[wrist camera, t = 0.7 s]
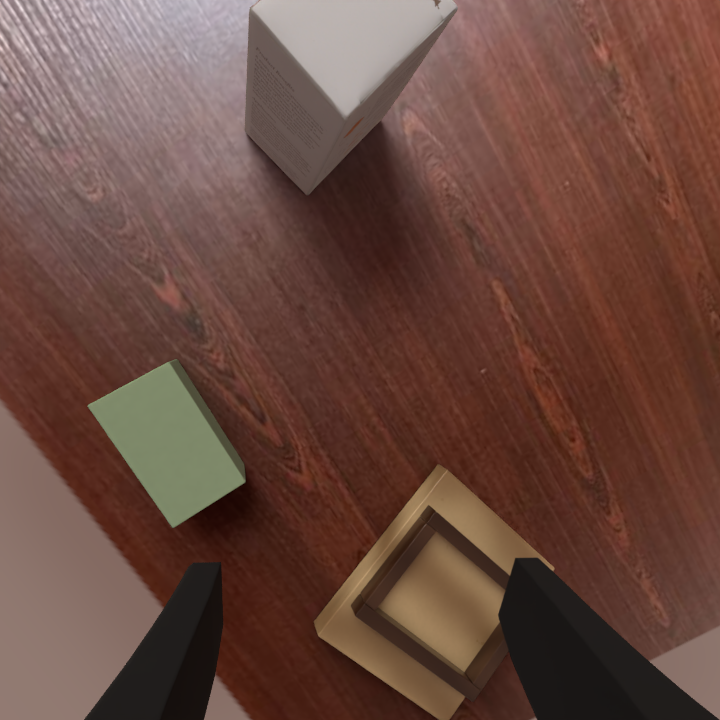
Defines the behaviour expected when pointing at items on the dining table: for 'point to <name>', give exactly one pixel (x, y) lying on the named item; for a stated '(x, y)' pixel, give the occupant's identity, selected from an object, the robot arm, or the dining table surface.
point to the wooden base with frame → (430, 597)
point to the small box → (330, 74)
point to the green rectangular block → (171, 441)
